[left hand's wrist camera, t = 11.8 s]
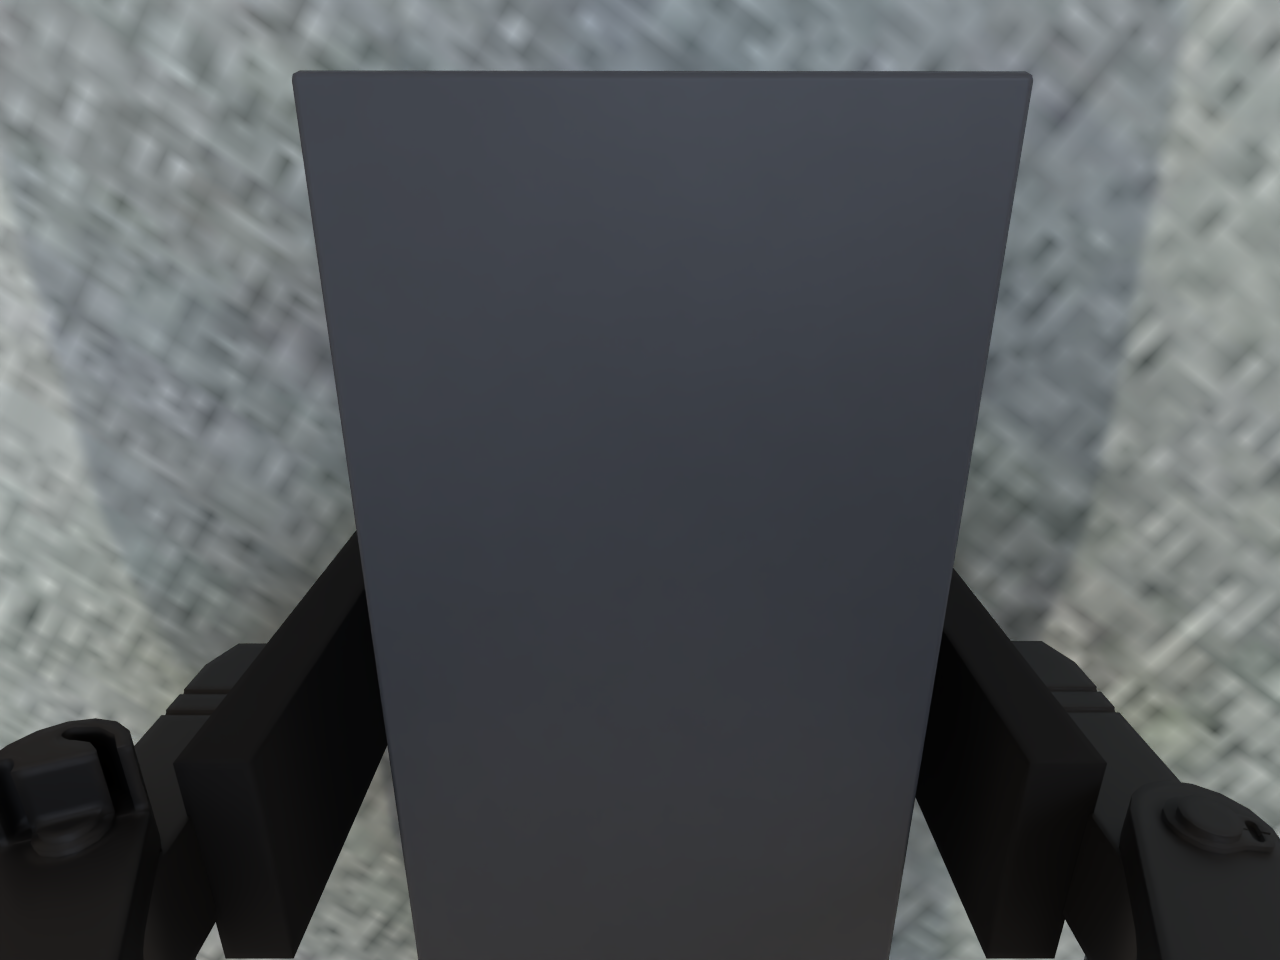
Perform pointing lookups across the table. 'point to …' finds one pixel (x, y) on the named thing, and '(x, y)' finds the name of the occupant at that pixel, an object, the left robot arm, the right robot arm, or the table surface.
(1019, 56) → the table surface
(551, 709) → the beam
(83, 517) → the table surface
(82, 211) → the table surface
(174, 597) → the table surface
